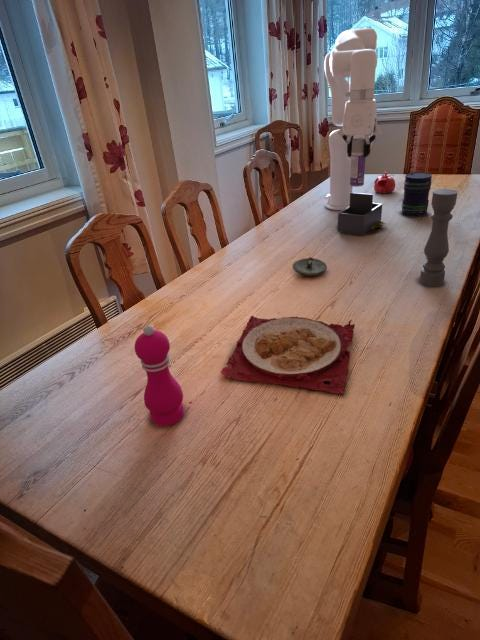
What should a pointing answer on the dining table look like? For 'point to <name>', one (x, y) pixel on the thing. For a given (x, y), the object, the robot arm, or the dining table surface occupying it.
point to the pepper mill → (159, 378)
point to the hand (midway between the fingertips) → (358, 155)
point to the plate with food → (292, 353)
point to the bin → (359, 214)
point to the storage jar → (416, 194)
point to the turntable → (369, 231)
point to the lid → (309, 266)
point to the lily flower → (378, 225)
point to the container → (357, 162)
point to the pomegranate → (384, 184)
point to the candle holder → (438, 238)
